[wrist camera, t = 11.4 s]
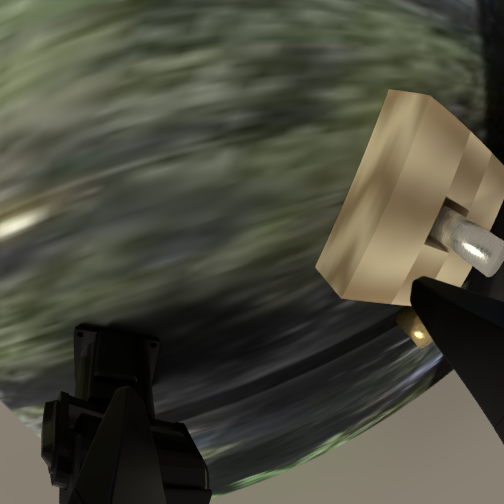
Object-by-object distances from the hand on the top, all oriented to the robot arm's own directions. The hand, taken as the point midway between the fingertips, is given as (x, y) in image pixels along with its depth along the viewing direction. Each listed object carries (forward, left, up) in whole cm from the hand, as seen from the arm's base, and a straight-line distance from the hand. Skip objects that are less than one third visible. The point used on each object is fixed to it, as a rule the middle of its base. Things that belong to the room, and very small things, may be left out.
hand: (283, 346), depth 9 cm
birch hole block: (+4, -16, -12) cm, 20 cm away
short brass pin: (-7, -23, -12) cm, 27 cm away
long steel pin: (+4, -16, -12) cm, 20 cm away
